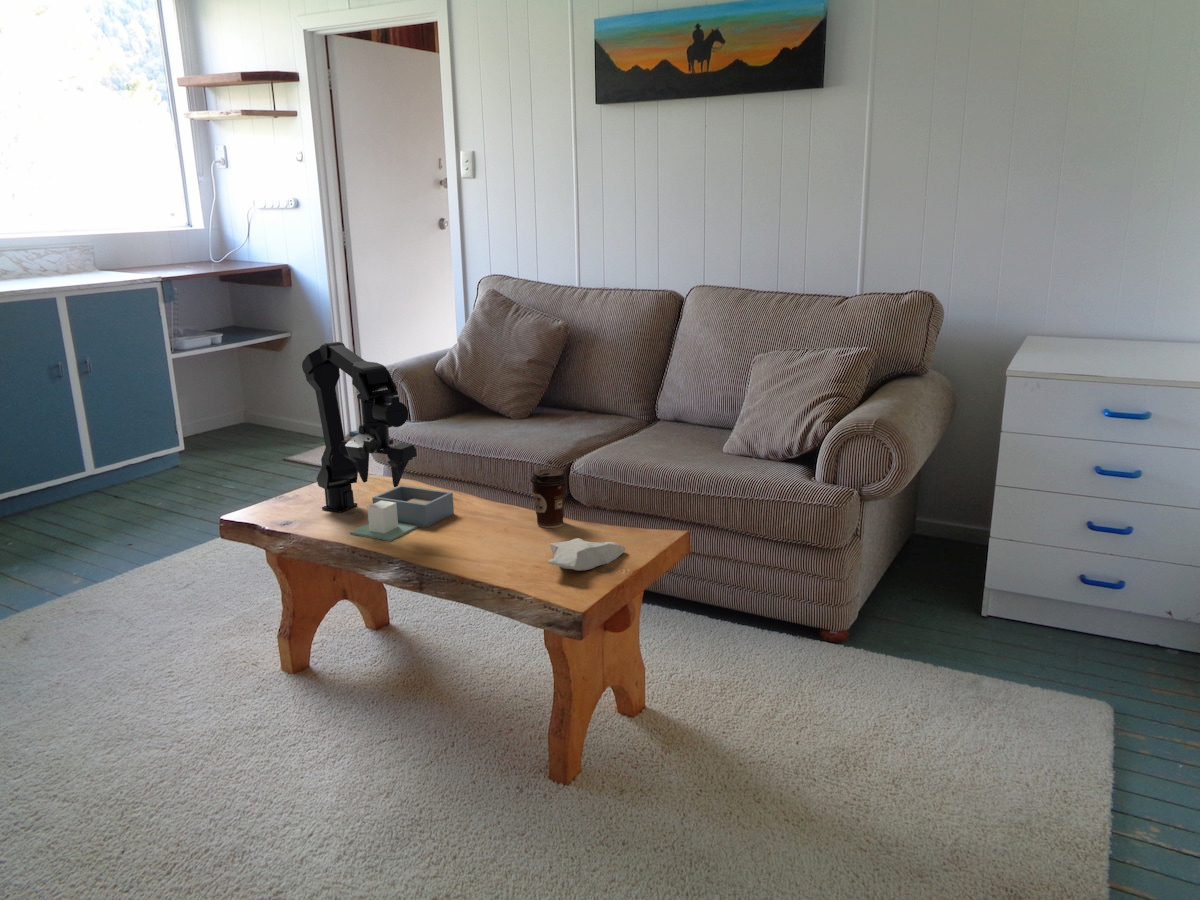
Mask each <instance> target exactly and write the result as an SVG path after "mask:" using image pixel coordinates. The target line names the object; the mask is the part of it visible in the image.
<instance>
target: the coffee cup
mask: <svg viewBox="0 0 1200 900" xmlns="http://www.w3.org/2000/svg"><path fill="white" fill-rule="evenodd" d="M529 482H531V483H532V495H533V496H532V497H533V502H534V511H535V515H536V520H537V521H536V522H537V524H536V525H537V526H539V527H542V528H547V529H554V528H560V527H563V525H564V523H565V521H564V518H565V517H564V516H565V503H566V500H565V497H566V489H567V486H566V485H567V483H568V477H567V476H566V475H565V472H564V471H563V470H560V469H551V468H542V469H536V470H535V471H534V472H533V473H532V476H531V477H530V479H529Z"/></svg>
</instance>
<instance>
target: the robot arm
mask: <svg viewBox="0 0 1200 900" xmlns="http://www.w3.org/2000/svg"><path fill="white" fill-rule="evenodd" d="M301 368H302V371H303V373H304V376H305V379H306V382H307V383H308V384H309V385H310V386H311V387H312V389H313V390H314V391H315V396H316V401H317V406H318V412H319V417H320V423H321V429H322V434H323V440H324V445H325V448H324V451H323V454H322V456H321V459H320V461H321V468H320V470H319V472H318V474H317V477H316V481H317V482H316V483H317V486H318V487H320V488H322V489H324V496H325V498H324V499H325V504H326V505H325V506H322V507H321V510H325V511H330V512H338V513H342V512H345V511H348V510H349V509H352V508H355V507H356V506H358V502H355V499H354V498H355V497H354V490H353V488H352V484H357V483H358V476H359V477H360V479H361V481H362V483H367V482H368V479H369V478H368V477H369V464H370V454H380V455H387V456H386V457H387V458H388V459H389V460H388V461H387V464H388V465H389V466H390V467H391V468H390V469H391V478H392V479H391V480H392V485H393V488H396V487H398V486H400V485H399V484H400V482H401V480H402V476H403V474H404V472H405V469H406V467H407V465H408V463H409V461H412V460H413V458H415V457H418V456H417V453H418V452H417V447H416V446H415V445H414V444H409V443H398V444H396V445H393V444H394V439H392V438H390V430H389V428H393V427H394V428H399V427H402V426H403V425H404V424H406V422H407V420H408V418H409V410H408V407H407V406H406V405H405V404H404V403H403V402H401V401H400V396H398V395H399V393H398V390H397V389H398V386H397V384H395V381H394V380H393V378H392V375H391V374H390V371H389V370H388V369H387V367H386V366H385V365H384V364H381V363H379V362H375V361H367V360H364V359H363V358H362V357H361V356H359V355H358V354H357V353H355V352H353V351H352V350H350V349H349V348H348V347H346V345H345V344H344V343H343V342H341V341H333V342H326V343H324V344H321V346H320V347H319V348H317V349H316V350H314V351H312V352H310V353H308V354H307V355H306V356H305V357H304V359H303V360H302V363H301ZM340 370H341V371H343V372H344V373H345V374H346V375H348V376H349V377H351V380H352V381H351V382H352V386H353V387H355V389H357V392H358V394H357V395H356V398H357V399H358V400H360V407H361V415H362V416H361V418H362V424H361V425H358V434H356V435H354V436H353V437H350V438H348V439H345V433H344V429H343V424H342V418H341V412H340V407H339V400H338V395H337V390H336V389H337V388H336V387H337V384H338V383H339V380H340V376H341V374H340ZM391 445H393V446H391ZM358 474H359V475H358Z"/></svg>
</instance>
